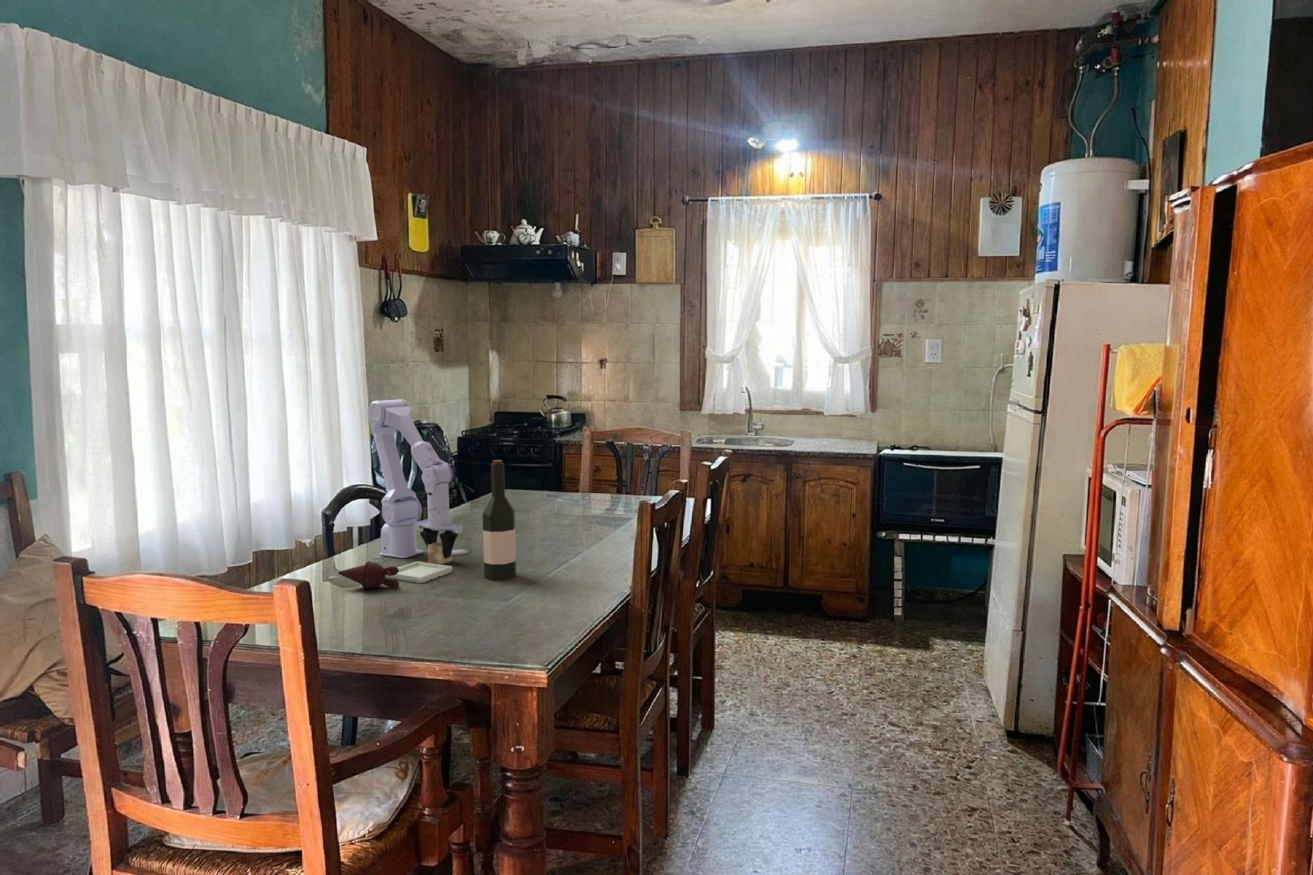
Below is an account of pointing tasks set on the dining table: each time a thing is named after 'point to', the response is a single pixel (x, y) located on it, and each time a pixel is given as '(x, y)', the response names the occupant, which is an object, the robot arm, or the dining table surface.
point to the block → (437, 554)
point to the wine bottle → (499, 530)
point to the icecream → (371, 575)
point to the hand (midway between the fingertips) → (440, 556)
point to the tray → (420, 572)
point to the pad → (460, 552)
